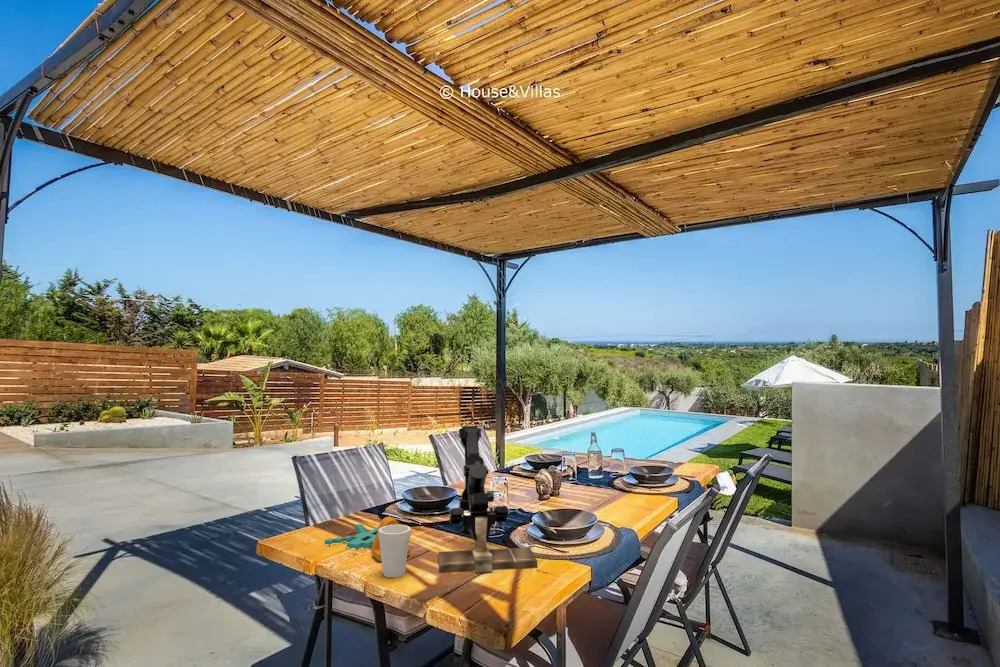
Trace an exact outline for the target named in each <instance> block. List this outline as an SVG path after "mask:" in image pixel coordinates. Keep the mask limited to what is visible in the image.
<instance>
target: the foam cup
mask: <svg viewBox="0 0 1000 667" xmlns="http://www.w3.org/2000/svg"><path fill="white" fill-rule="evenodd" d="M411 530H412V527H410V526H408V525H405V524H400V525H392V524H391V525H388V526H384V527H382V528H380V529H379V533H378V539H379V542H380V552H381V561H380V562H381V568H382V575H383V574H384V575H383V576H384V577H385V576H386V577H385V578H387V577H397V578H400V576H401V577H403V576H404V575H405V573H406V566H407V560H408V559H407V558H408V556H407V553H408V547H409V545H410V540H411V539H410V538H411V536H412V535H411V533H412V532H411ZM402 575H403V576H402Z"/></svg>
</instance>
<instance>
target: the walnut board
mask: <svg viewBox="0 0 1000 667" xmlns="http://www.w3.org/2000/svg"><path fill="white" fill-rule="evenodd" d="M473 550H474V549H471V550H469V549H468V550H448V551H447V550H446V551H438V554H437V557H438V559H437V560H438V571H439V573H451V572H452V573H454V572H455V573H456V572H457V571H459V572H469V571H468V570H475V562H474V558H473ZM488 550H489V552H490V553H491V554H492V571H494V570H495V571H497V570H514V569H516V570H517V569H531V568H532V569H536V568H538V559H537V558H536V556H535V555H534V553H533V552H532V550H531V548H530V547H517V548H510V547H509V548H497V549H496V548H495V549H488Z"/></svg>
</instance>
